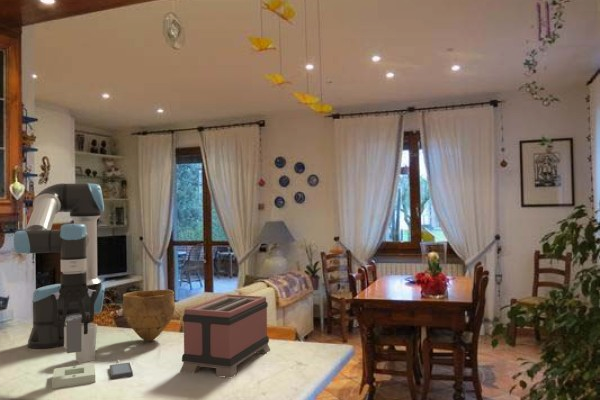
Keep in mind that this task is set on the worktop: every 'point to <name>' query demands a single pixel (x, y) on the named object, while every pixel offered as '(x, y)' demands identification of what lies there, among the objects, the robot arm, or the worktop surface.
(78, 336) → the block
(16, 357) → the worktop surface
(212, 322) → the toaster
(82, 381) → the outlet plate
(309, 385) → the worktop surface
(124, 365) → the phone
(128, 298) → the bowl
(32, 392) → the worktop surface
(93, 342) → the cup
